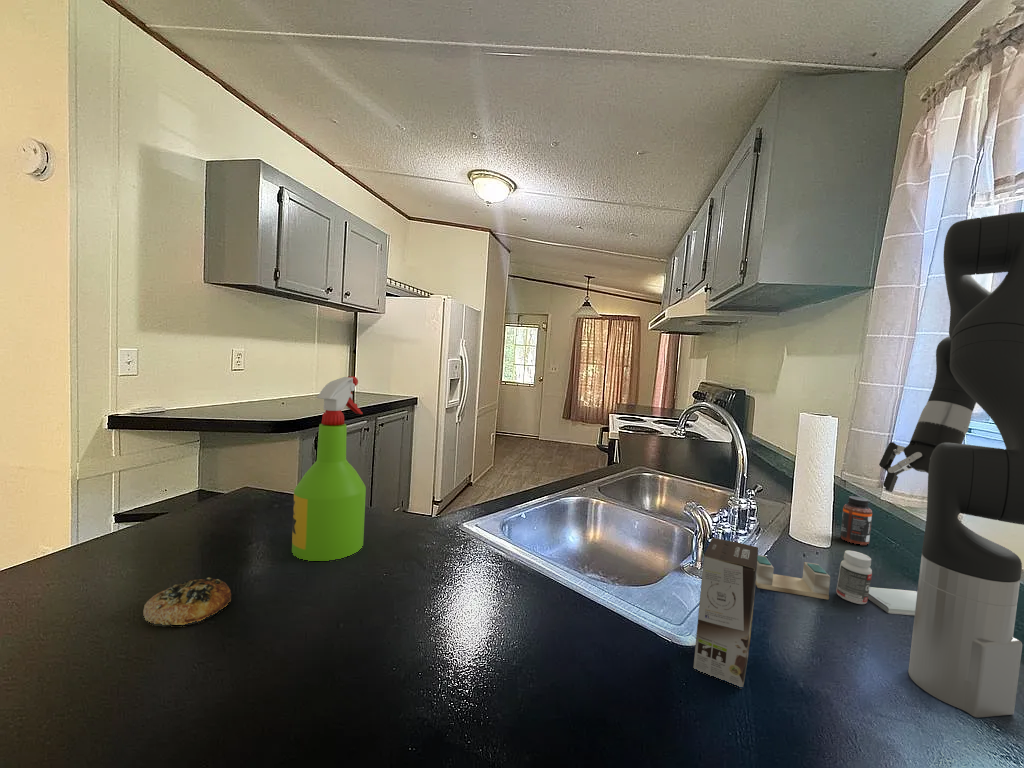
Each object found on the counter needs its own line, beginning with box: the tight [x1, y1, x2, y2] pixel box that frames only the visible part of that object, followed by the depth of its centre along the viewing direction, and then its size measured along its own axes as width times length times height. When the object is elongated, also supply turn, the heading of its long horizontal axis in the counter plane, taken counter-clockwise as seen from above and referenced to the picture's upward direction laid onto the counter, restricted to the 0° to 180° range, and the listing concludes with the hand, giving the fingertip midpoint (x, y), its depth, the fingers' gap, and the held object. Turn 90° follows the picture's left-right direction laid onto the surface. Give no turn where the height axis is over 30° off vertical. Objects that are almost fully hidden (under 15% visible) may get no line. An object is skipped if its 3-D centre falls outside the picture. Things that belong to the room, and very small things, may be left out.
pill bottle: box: [835, 550, 873, 605], centre depth 84 cm, size 5×5×8 cm
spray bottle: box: [291, 375, 367, 562], centre depth 94 cm, size 14×18×35 cm
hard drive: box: [868, 586, 918, 617], centre depth 84 cm, size 2×8×12 cm
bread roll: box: [142, 576, 232, 625], centre depth 68 cm, size 11×11×5 cm
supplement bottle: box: [840, 495, 873, 546], centre depth 115 cm, size 6×6×11 cm
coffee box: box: [692, 537, 759, 688], centre depth 63 cm, size 9×6×16 cm
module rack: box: [755, 554, 831, 601], centre depth 88 cm, size 12×6×4 cm, turn 76°
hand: (913, 499), depth 93 cm, fingers open, 8 cm apart
